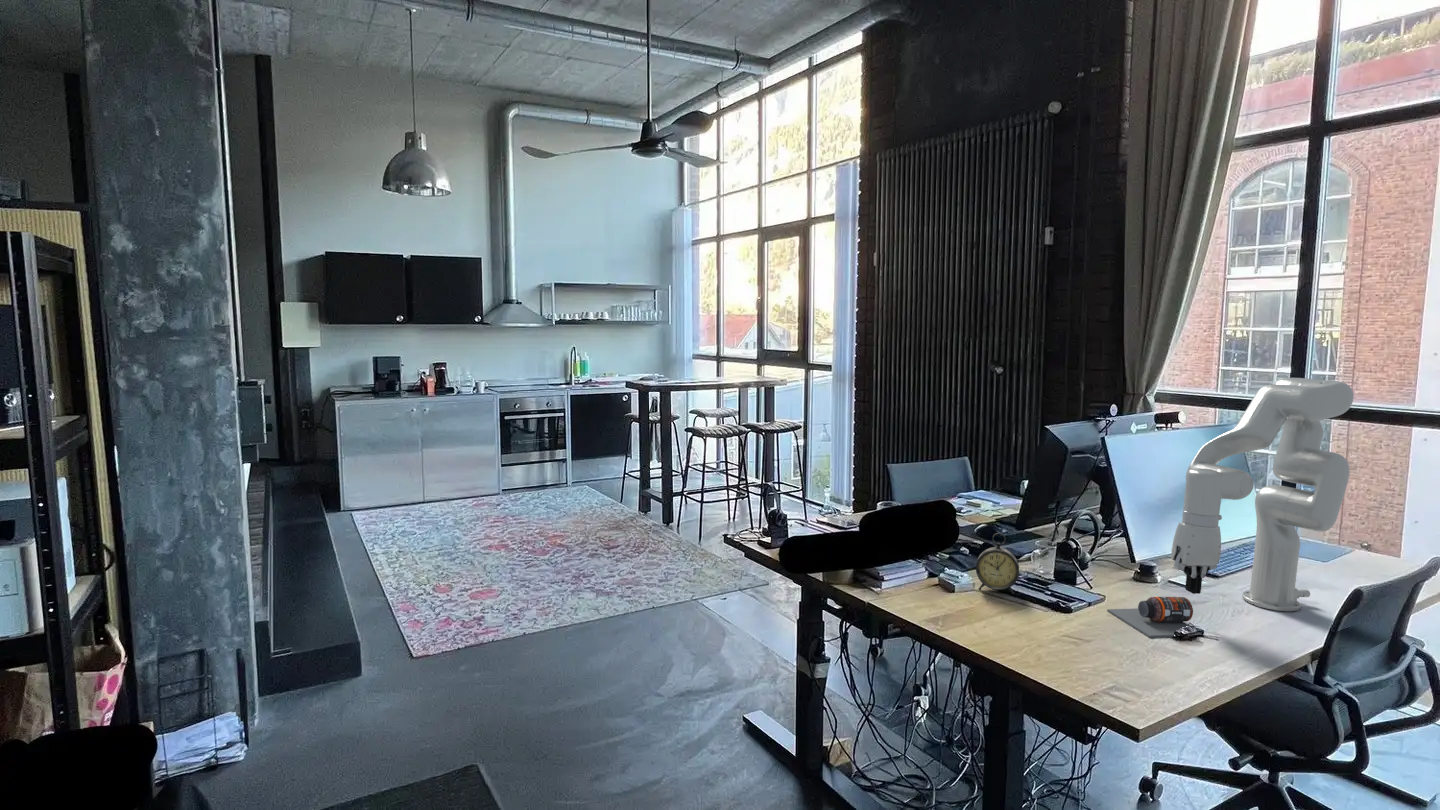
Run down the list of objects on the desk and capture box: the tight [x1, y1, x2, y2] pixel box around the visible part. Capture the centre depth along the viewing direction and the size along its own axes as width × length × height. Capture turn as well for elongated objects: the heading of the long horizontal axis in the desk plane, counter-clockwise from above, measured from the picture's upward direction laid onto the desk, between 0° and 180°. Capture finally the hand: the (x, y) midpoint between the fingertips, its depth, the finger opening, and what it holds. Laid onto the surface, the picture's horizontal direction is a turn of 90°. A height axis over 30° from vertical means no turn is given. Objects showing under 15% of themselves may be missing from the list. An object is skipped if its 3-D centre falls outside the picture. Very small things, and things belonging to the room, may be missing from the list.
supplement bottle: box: [1137, 596, 1194, 623], centre depth 190 cm, size 6×6×11 cm
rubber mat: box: [1106, 607, 1189, 639], centre depth 190 cm, size 14×16×1 cm
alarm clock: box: [975, 532, 1020, 595], centre depth 209 cm, size 11×5×16 cm, turn 68°
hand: (1192, 591), depth 190 cm, fingers closed
